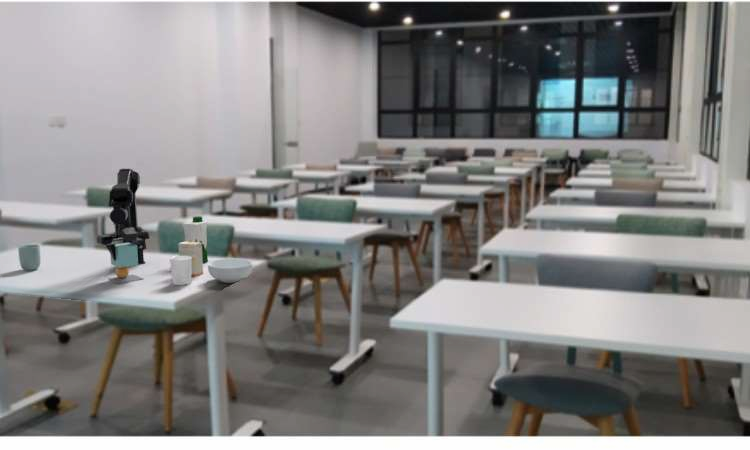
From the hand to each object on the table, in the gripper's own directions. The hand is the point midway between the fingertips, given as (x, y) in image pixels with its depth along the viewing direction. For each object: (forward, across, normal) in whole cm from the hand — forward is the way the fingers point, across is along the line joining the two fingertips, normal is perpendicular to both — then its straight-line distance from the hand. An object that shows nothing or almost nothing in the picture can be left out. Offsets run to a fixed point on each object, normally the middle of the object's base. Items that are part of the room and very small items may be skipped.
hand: (124, 258), depth 257 cm
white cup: (+8, +13, -21) cm, 26 cm away
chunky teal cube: (+2, 0, 0) cm, 2 cm away
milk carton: (+8, +35, +8) cm, 37 cm away
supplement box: (+8, +23, -10) cm, 26 cm away
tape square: (+8, 0, 0) cm, 8 cm away
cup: (+8, -22, +43) cm, 49 cm away
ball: (+6, 0, +3) cm, 6 cm away
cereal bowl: (+8, +29, -30) cm, 43 cm away
